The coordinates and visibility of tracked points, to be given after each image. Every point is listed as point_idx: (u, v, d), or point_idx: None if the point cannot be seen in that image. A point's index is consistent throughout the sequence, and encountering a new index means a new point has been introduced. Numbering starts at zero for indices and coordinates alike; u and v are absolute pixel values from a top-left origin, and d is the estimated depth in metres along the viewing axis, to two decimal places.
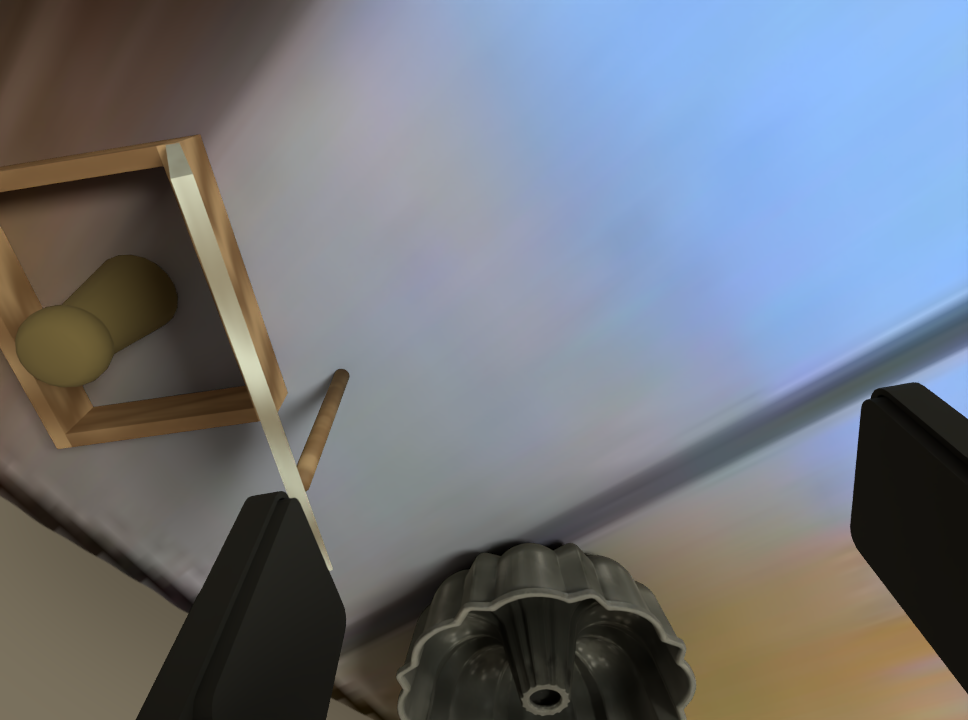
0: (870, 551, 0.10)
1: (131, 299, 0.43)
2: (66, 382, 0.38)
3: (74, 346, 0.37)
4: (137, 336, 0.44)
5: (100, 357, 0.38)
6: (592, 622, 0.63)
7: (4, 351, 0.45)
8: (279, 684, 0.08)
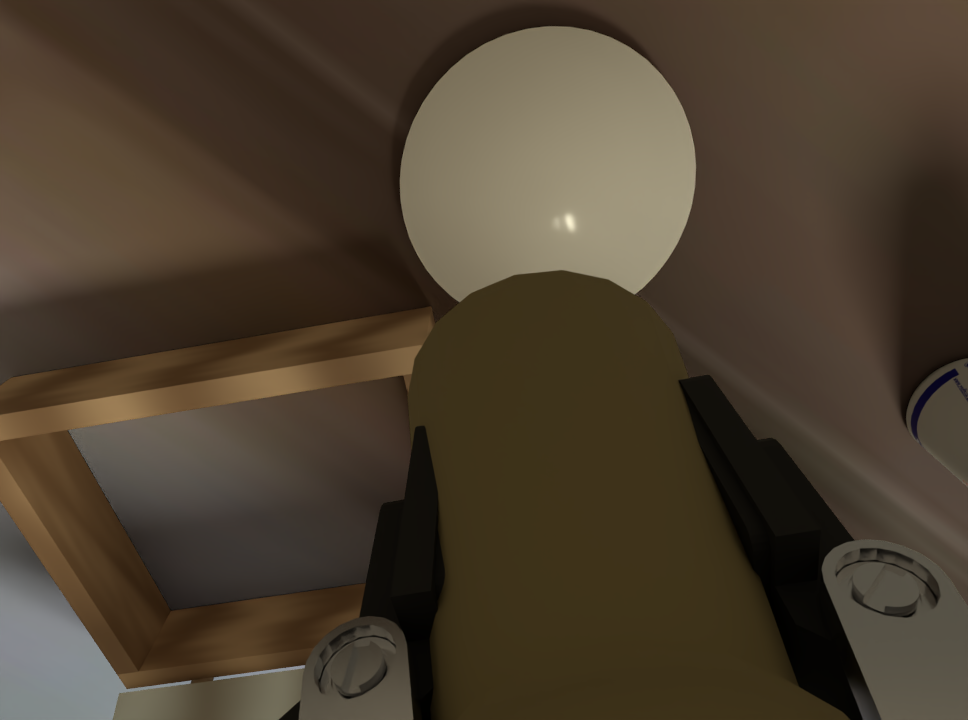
0: None
1: None
2: None
3: None
4: None
5: None
6: None
7: (144, 394, 0.26)
8: None
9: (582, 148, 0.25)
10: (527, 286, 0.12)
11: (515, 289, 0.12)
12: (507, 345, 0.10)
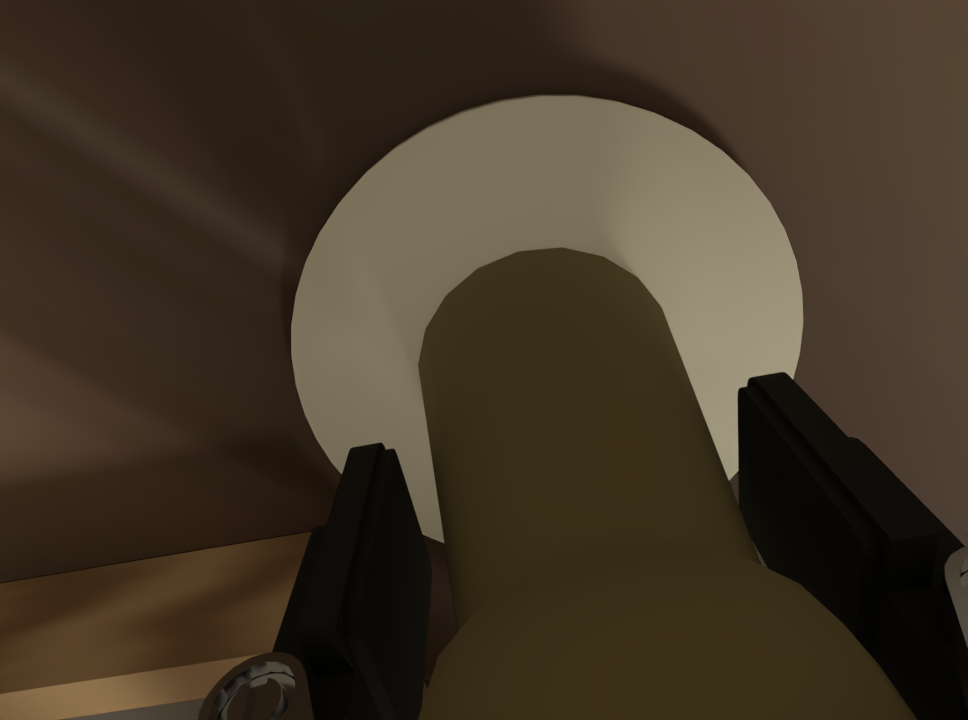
0: (751, 527, 0.11)
1: None
2: None
3: None
4: None
5: None
6: None
7: None
8: (396, 612, 0.09)
9: None
10: (530, 260, 0.13)
11: (519, 263, 0.13)
12: (514, 310, 0.12)
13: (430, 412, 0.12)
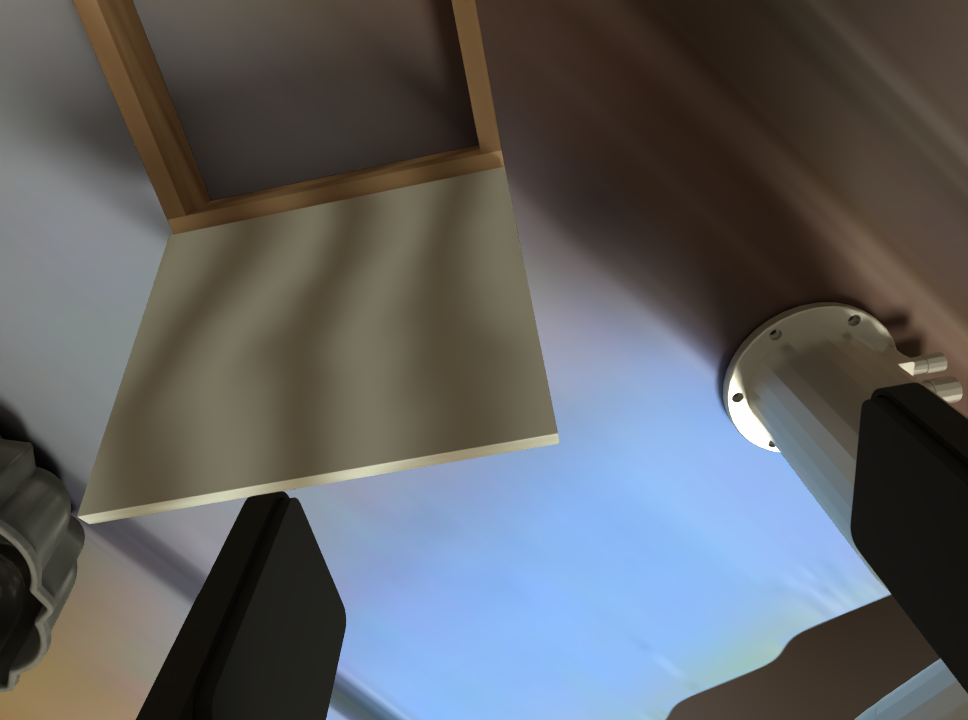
0: (870, 551, 0.10)
1: None
2: None
3: None
4: None
5: None
6: None
7: None
8: (279, 684, 0.08)
9: None
10: None
11: None
12: None
13: None
